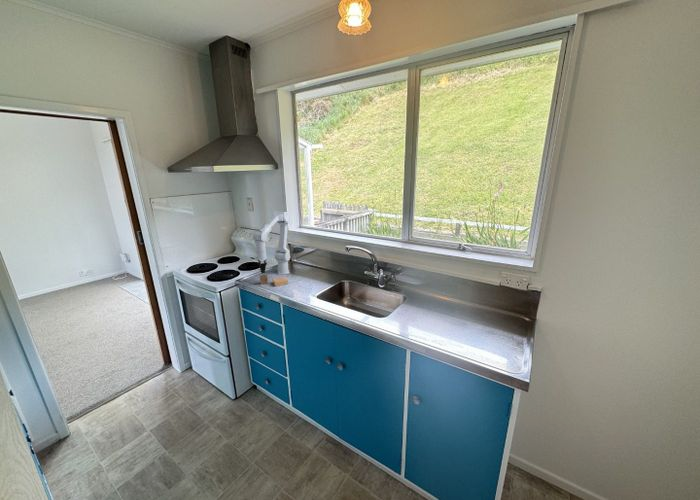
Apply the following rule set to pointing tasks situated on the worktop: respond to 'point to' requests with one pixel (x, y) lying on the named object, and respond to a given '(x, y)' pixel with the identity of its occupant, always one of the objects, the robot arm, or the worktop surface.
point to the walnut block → (263, 279)
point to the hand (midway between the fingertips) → (263, 271)
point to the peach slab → (280, 281)
